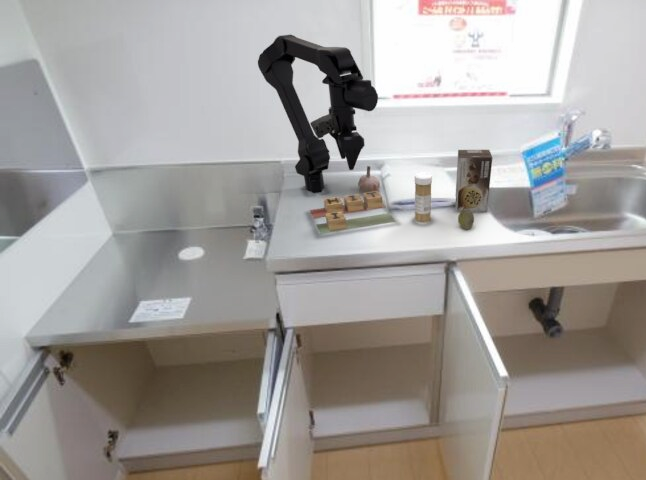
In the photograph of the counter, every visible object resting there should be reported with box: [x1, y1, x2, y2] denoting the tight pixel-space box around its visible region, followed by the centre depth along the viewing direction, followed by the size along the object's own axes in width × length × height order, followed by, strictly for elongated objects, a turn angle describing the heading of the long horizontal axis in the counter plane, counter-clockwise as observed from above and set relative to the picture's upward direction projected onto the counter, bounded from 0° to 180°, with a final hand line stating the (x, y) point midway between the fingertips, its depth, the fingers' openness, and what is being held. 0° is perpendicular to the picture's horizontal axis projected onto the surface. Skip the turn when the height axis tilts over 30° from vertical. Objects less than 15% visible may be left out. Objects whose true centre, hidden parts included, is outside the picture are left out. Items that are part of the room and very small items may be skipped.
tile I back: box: [343, 193, 364, 212], centre depth 128 cm, size 4×4×3 cm
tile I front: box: [325, 211, 347, 231], centre depth 119 cm, size 4×4×3 cm
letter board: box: [309, 201, 397, 235], centre depth 125 cm, size 15×22×1 cm
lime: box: [457, 209, 475, 230], centre depth 121 cm, size 4×5×5 cm
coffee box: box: [454, 149, 493, 213], centre depth 127 cm, size 9×6×16 cm
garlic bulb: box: [357, 165, 381, 193], centre depth 138 cm, size 8×7×8 cm
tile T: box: [362, 191, 384, 209], centre depth 129 cm, size 4×4×3 cm
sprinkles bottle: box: [414, 171, 433, 223], centre depth 120 cm, size 5×5×13 cm
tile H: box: [323, 196, 344, 213], centre depth 126 cm, size 4×4×3 cm
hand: (347, 164), depth 125 cm, fingers open, 9 cm apart
